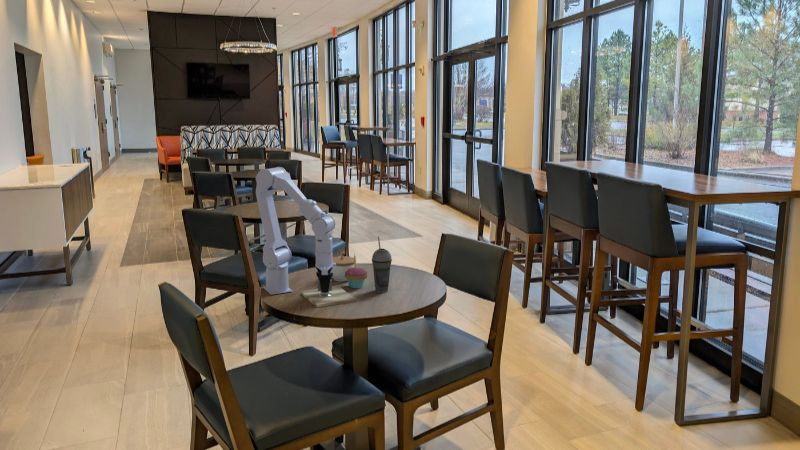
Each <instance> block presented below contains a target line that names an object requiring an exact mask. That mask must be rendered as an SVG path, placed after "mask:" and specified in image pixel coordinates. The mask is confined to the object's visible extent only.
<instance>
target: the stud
mask: <svg viewBox="0 0 800 450" xmlns="http://www.w3.org/2000/svg"><path fill="white" fill-rule="evenodd" d="M319 296H320V297H328V296H331V293H329V291H328V292H323V293H322V292H321V293H320V294H319Z"/></svg>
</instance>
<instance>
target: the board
mask: <svg viewBox="0 0 800 450" xmlns="http://www.w3.org/2000/svg"><path fill="white" fill-rule="evenodd" d="M300 293H301V296H303V297H304V298H305V299H307V301H309V303H311V304H313V306H315V308H323V307H329V306H330V305H331V306H335V305H341V304H342V303H343V304H347V303H355V302H357V298H356V297H354V296H353V295H351V294H350V293H349V292H347V290H345V289H343V288H342V287H340V286H339V285H335V286H332V291H329V293H331V296H328V297H320V296H319V294H320V293H321V292H320V291H318V288H315V289H309V290H302V291H301V292H300Z"/></svg>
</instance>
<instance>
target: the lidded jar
mask: <svg viewBox="0 0 800 450" xmlns="http://www.w3.org/2000/svg"><path fill="white" fill-rule="evenodd" d="M333 263H336V266H333V267H332V270H331V272H330V273H333V276H332V278H333V280H334V281H336V282H348V281H347V279H346V278H345V272H346V271H347V270H348V269H350V268H354V256H345V255H343V254H342V255H340V256H333Z"/></svg>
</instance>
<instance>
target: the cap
mask: <svg viewBox="0 0 800 450" xmlns="http://www.w3.org/2000/svg"><path fill="white" fill-rule="evenodd" d="M332 281H333V279H332V278H331V280H330V284H329V290H328V291H332V287H333V282H332ZM317 289H318V291H320V292H322V291H321V286H320V282H319V279H318V278H317Z"/></svg>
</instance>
